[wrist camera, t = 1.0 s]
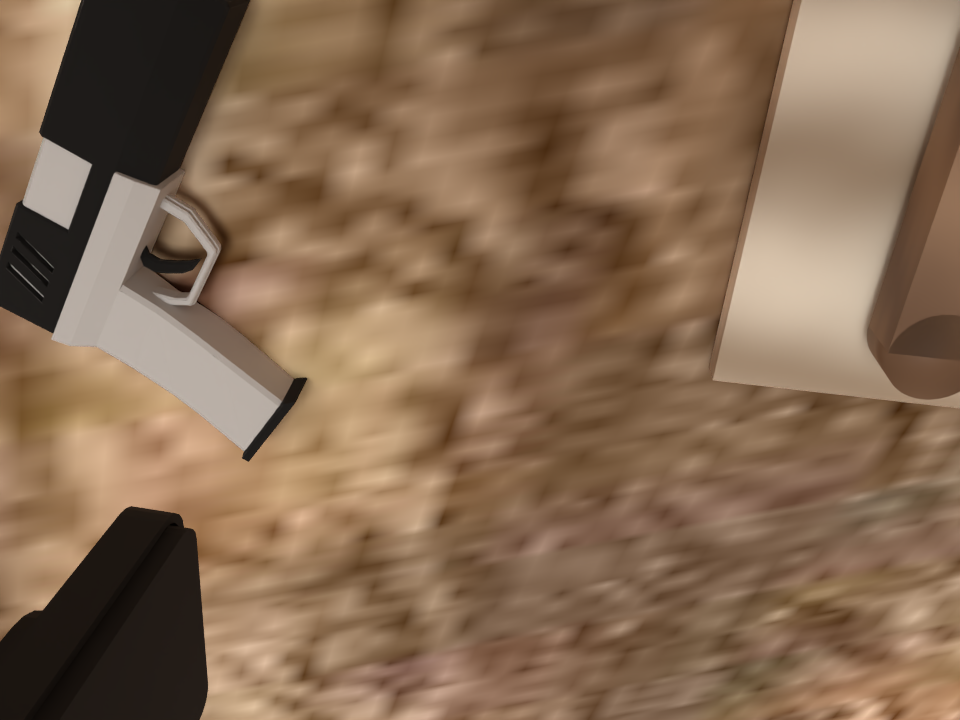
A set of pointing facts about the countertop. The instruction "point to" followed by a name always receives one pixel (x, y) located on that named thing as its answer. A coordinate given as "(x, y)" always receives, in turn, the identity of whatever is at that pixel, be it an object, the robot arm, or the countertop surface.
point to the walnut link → (926, 271)
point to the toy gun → (136, 212)
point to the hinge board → (833, 193)
